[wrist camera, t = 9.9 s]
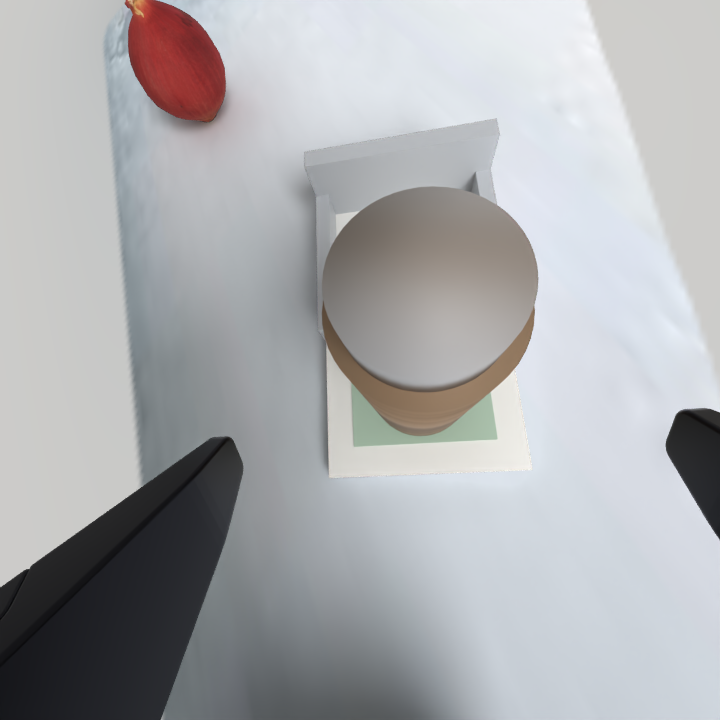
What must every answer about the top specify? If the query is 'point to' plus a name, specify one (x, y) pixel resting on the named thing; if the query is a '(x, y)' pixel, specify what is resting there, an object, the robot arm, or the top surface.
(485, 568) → the top surface
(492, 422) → the lane rack
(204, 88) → the onion
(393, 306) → the pepper mill
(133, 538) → the robot arm
